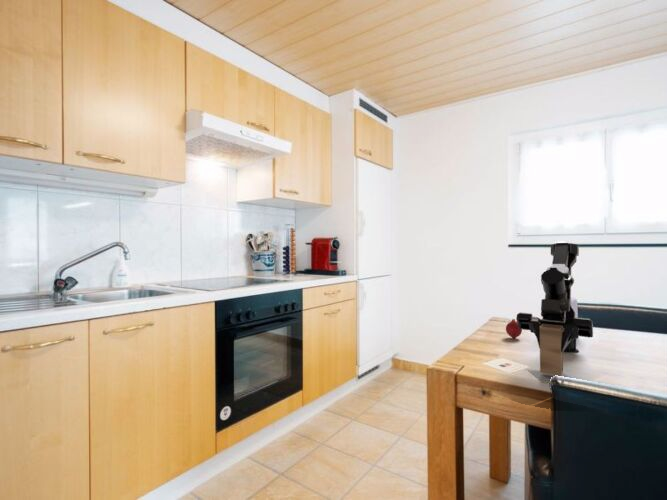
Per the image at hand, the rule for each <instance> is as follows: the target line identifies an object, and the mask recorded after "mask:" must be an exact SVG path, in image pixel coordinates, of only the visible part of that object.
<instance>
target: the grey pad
mask: <svg viewBox="0 0 667 500" xmlns="http://www.w3.org/2000/svg"><path fill="white" fill-rule="evenodd" d="M528 372H529V373H530V374H531V375H533V376H534V377H535V378H536V379H538V381H540V383H544V384H551V383H550V379H551V377H553V376H555V375H552V374H547V373H542V372H540V370H532V369H531V370H528ZM561 376H564V377H569V375H567V374H565V373H564V372H563V373H562V375H561Z"/></svg>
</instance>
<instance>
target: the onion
mask: <svg viewBox="0 0 667 500" xmlns="http://www.w3.org/2000/svg"><path fill="white" fill-rule="evenodd" d="M505 331H506V332H505V333H506V334H507V335H508V336H509V337H511V338H512V339H516V338H518V337H519V336H521V335H522V333H523V329H520V328H519V326H518V323H517V320H516V319H515V318H512V319H511V321H509V322H508V323H507V324H506V326H505Z"/></svg>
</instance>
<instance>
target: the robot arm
mask: <svg viewBox="0 0 667 500" xmlns="http://www.w3.org/2000/svg"><path fill="white" fill-rule="evenodd" d="M579 251H580V248H579V245H578V244H576V243H572V242H570V241H556V242H553V244H550V256H552V263H551V266H548V267H547V268H546V270H545V271H544V272H542V274H541V275H540V282H541V285H542V289H543V292H544V294H545V295H544V298H543V299H541V303H540V304H541V306H540V315H541V316H540V317H542V318H540V317H537V316H533V313H532V312H531V313H530V312H518V313H516V317H515V318H516V319H515V321H516V322H517V323H518V326H519V328H520V329H522V331H523V330H525V331H530V333H531V334H532V333H533V334H534V336H535V337H536V340H537V343H538V344H537V345H538V348H539V349H540V326H541V325H542V324H551V325H560V326H563V339H562V344H561V352H563V353H564V352H573V353H574V352H576V353H577V352H580V351H579V349H578V348H577V339H579V337H582V338H594V325H593V320H591V319H590V318H586V317H585V318H583V317H578V318H576V314H575V312H574V310H573V309H572V307H571V295H572V286H573V284H575V279H574V278H573V275H572V268H573V267H574V266H575V264H576V262H577V256H579V254H580V252H579Z"/></svg>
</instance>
